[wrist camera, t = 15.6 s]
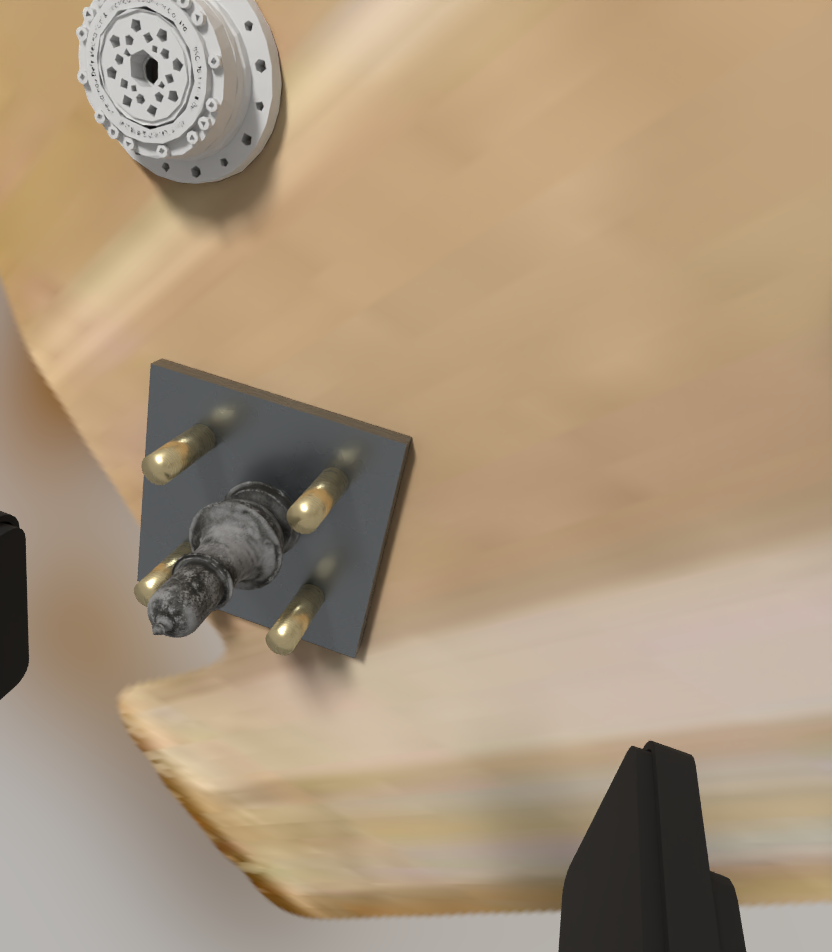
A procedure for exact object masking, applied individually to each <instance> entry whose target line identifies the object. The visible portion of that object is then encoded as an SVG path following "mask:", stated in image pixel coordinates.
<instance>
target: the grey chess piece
mask: <svg viewBox="0 0 832 952" xmlns="http://www.w3.org/2000/svg"><path fill="white" fill-rule="evenodd" d="M292 505H293V503H292V502H291V501H290V499H289V498H288V497H287V496H286V495H285V494H284V493H282V492H281V491H280V490H279V489H277V488H275V487H273V486H271V485H270V484H266V483H263V482H259V481H248V482H244V483H240V484H238V485H236V486H235V487H233V488H232V489H230V491H229V492H228V493H227V494H226V496H225V498H224V500H223V501H220V502H216V503H212V504H209V505H207V506H206V507H204V508H202V509H201V510H200V511H199V512H198V513H197V514H196V516H195V517H194V518H193V520H192V523H191V526H190V529H189V541H190V545H191V549H192V552H193V553H189V554H185V555H183V556H182V557H180V558H179V559H178V560H177V561H176V562H175V564H174V566H173V569H172V576H171V577H170V578H169V579H168V580H167V581H166V582H165V583H164V584H163V585H162V586H161V587H160V588H159V589H158V590H157V591H156V592H155V593H154V594H153V595H152V596H151V598H150V600H149V603H148V616H149V620H150V622H151V624H152V625H153V626H152V629H153V634H154V635H163V634H164V635H166V636H169V637H184V636H187V635H189V634H191V633H193V632H194V631H195V630H196V629H197V628H198V627H199V626H200V624H201V623H202V622H203V621H204V620H205V619H206V617H207V616H208V615H209V614H210V613H211V612H212V611H214V610H219V609H221V608H223V607H225V606H226V605H227V604H228V603H229V602H230V600H231V598H232V596H233V589H234V588H235V589H238V590H254V589H259V588H262V587H264V586H266V585H268V584H269V583H271V582H272V580H273V579H274V578H275V577H276V576H277V575H278V573H279V571H280V568H281V566H282V558H283V554H285V553H286V552H288V551H290V549H291V548H292V547H293V546H294V545H295V544H296V542H297V540H298V538H299V535H300V533H298V532H296V531H295V530H293V529H292V528H291V526H290V525H289V523H288V521H287V511H288V509H289V508H290V507H291V506H292Z"/></svg>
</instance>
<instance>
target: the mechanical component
mask: <svg viewBox="0 0 832 952" xmlns="http://www.w3.org/2000/svg"><path fill="white" fill-rule="evenodd" d="M83 18H84V22H83V24H82V27H81V26H80V27H79V28H77V31H76V34H77V36H78V39H79V66H80V71H79V72H78V75H77V78H78V80H79V82H80V83H82V84H83V85H84V88H85V91H86V95H87V98H88V101H89V102H90V104H91V106H92V107H93V109H94V111H95V116H94V117H95V120H96V122H98V123H101V124H103V126H104V127H105V129H106V130H107V131H108V134H109V136H110V137H111V138H113V139H117V140H118V141H119V142H120V144H121V145H122V146H123V147H124V149H125V150H126V151H127V152H128V153H129V155H130V156H131V157H132V158H133V159H134V160H136V161H137V162H139V163H140V164H142V165H143V166H144V167H146V168H147V169H149V170H150V171H151V172H153V173H154V174H156V175H157V176H160V177H163V178H167V179H170V180H173V181H176V182H179V183H195V184H198V183H206V182H215V181H221V180H223V179H225V178H228V177H230V176H232V175H235V174H237V173H239V172H242V171H243V170H244V169H245V168H246V167H247V166H248V165H249V164H250V163H251V162H252V161H253V160H254V159H255V158H256V157H257V156H258V155H259V154H260V153H261V152H262V150H263V148H264V146H265V145H266V143H267V141H268V139H269V137H270V136H271V134H272V132H273V129H274V126H275V122H276V119H277V116H278V113H279V106H280V96H281V87H282V81H281V73H280V65H279V57H278V50H277V47H276V44H275V41H274V38H273V35H272V32H271V29H270V27H269V25H268V23H267V22H266V20H265V18H264V16H263V14H262V12H261V11H260V9H259V7H258V5H257V3H256V2H255V1H254V0H93V2H92V3H91V5H90V7H85V8H84V10H83ZM264 65H266V70H265V66H264ZM251 137H252V139H251ZM250 140H251V141H250Z"/></svg>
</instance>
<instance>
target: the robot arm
mask: <svg viewBox="0 0 832 952" xmlns="http://www.w3.org/2000/svg"><path fill="white" fill-rule="evenodd" d="M28 663H29V646H28V613H27V575H26V538H25V533H24V531H23V530H22V529H20V528H19V522H18V521H17V519H16V518H15V517H14V516H12V515H10V514H7V513H4V512H2V511H0V700H1V699H2V698H3V697H4V696H5V695H6V694H7V693H8V692H10V691H11V690H12V689H13V688H14V687H15V686H16V685H17V684H18V683H19V682H20V681H21V679H22V678H23V676H24V674H25V672H26V671H27V667H28ZM559 952H746V947H745V941H744V935H743V929H742V923H741V918H740V911H739V905H738V900H737V896H736V892H735V888H734V886H733V884H732V883H731V881H730V879H729V878H727V877H725V876H722V875H720V874H717V873H714V872H712V871H710V869H709V862H708V854H707V847H706V839H705V832H704V824H703V817H702V810H701V802H700V795H699V787H698V780H697V772H696V765H695V761H694V758H693V756H692V755H690V754H688V753H685V752H682V751H679V750H676V749H673V748H671V747H668V746H665V745H662V744H659V743H656V742H654V741H649V742H647V743H646V745H645V746H644V748H643V749H641V748H638V747H635V746H631V747H630V748H629V750H628V751H627V753H626V755H625V757H624V759H623V761H622V763H621V765H620V767H619V769H618V771H617V773H616V775H615V777H614V779H613V781H612V783H611V785H610V787H609V789H608V791H607V793H606V795H605V797H604V799H603V801H602V803H601V805H600V807H599V809H598V811H597V813H596V815H595V817H594V819H593V821H592V823H591V825H590V827H589V829H588V831H587V833H586V835H585V837H584V839H583V841H582V843H581V845H580V847H579V849H578V851H577V853H576V855H575V857H574V859H573V860H572V862H571V864H570V867H569V869H568V872H567V875H566V879H565V883H564V888H563V895H562V909H561V923H560V938H559Z"/></svg>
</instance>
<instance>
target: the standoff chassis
mask: <svg viewBox="0 0 832 952" xmlns="http://www.w3.org/2000/svg"><path fill="white" fill-rule="evenodd" d="M411 438H412V437H410V436H407V435H403V434H400V433H397V432H394V431H391V430H388V429H384V428H381V427H378V426H375V425H372V424H368V423H365V422H362V421H359V420H356V419H353V418H349V417H346V416H343V415H340V414H337V413H333V412H330V411H327V410H324V409H321V408H318V407H314V406H311V405H308V404H305V403H302V402H299V401H295V400H292V399H289V398H286V397H283V396H279V395H276V394H273V393H270V392H267V391H264V390H260V389H257V388H254V387H251V386H248V385H244V384H241V383H238V382H235V381H232V380H229V379H225V378H222V377H219V376H216V375H213V374H209V373H206V372H203V371H200V370H197V369H194V368H190V367H187V366H184V365H181V364H178V363H175V362H171V361H168V360H165V359H160V360H158V361H156V362H153V363H151V369H150V386H149V402H148V418H147V434H146V450H145V458H144V459H143V461H142V471H143V474H144V483H143V499H142V515H141V531H140V547H139V564H138V580H137V581H139V583H138V584H137V585H136V586H135V588H134V594H135V596H136V598H137V600H138V601H139V602H140V603H141V604H142V605H144V606H146V607H148V603H149V600H150V598H151V596H152V595H153V594H154V593H155V592H156V591H157V590H158V589H159V588H160V587H161V586H162V585H163V584H164V583H165V582H166V581H167V580H168V579H169V578H170V577H171V576H172V569H173V566H174V564H175V562H176V561H177V560H178V559H179V558H180V557H182V556H183V555H185V554H189V553H193V552H192V549H191V545H190V541H189V529H190V526H191V523H192V520H193V518H194V517H195V516H196V514H197V513H198V512H199V511H200V510H201V509H202V508H204V507H206V506H207V505H209V504H212V503H216V502H220V501H223V500H224V498H225V496H226V494H227V493H228V492H229V491H230V489H232V488H233V487H235V486H236V485H238V484H240V483H244V482H248V481H259V482H263V483H266V484H270V485H271V486H273V487H275V488H277V489H279V490H280V491H281V492H282V493H284V494H285V495H286V496H287V497H288V498H289V499H290V501H291V502H292V503H293V505H292V506H291V507H290V508H289V509H288V511H287V521H288V523H289V525H290V526H291V528H292V529H293V530H295V531H296V532H298V533H300V535H299V538H298V540H297V542H296V544H295V545H294V546H293V547H292V548H291V549H290V551H288V552H286V553H285V554H283V558H282V566H281V568H280V571H279V573H278V575H277V576H276V577H275V578H274V579H273V580H272V582H271V583H269V584H268V585H266V586H264V587H262V588H259V589H254V590H238V589H235V588H234V589H233V596H232V598H231V600H230V602H229V603H228V604H227V605H226V606H225V607H223V608H221V609H219V610H221V611H224V612H226V613H229V614H232V615H235V616H238V617H240V618H243V619H246V620H249V621H252V622H254V623H257V624H260V625H263V626H266V627H268V628H271V629H270V631H269V632H268V634H267V636H266V643H267V645H268V647H269V648H270V649H271V650H272V651H273V652H275V653H277V654H279V655H288V654H290V653H292V651H293V650H294V648H295V647H296V645H297V644H298V642H299V641H300V639H302V640H305V641H308V642H311V643H313V644H316V645H319V646H322V647H325V648H327V649H330V650H333V651H336V652H339V653H341V654H344V655H347V656H350V657H353V658H355V656H356V654H357V652H358V650H359V648H360V645H361V641H362V637H363V633H364V629H365V625H366V621H367V617H368V613H369V609H370V604H371V600H372V596H373V592H374V588H375V584H376V580H377V576H378V572H379V568H380V564H381V560H382V556H383V552H384V548H385V544H386V540H387V536H388V532H389V527H390V523H391V519H392V515H393V511H394V507H395V503H396V499H397V495H398V491H399V487H400V483H401V479H402V475H403V471H404V467H405V463H406V459H407V454H408V450H409V446H410V442H411Z"/></svg>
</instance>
